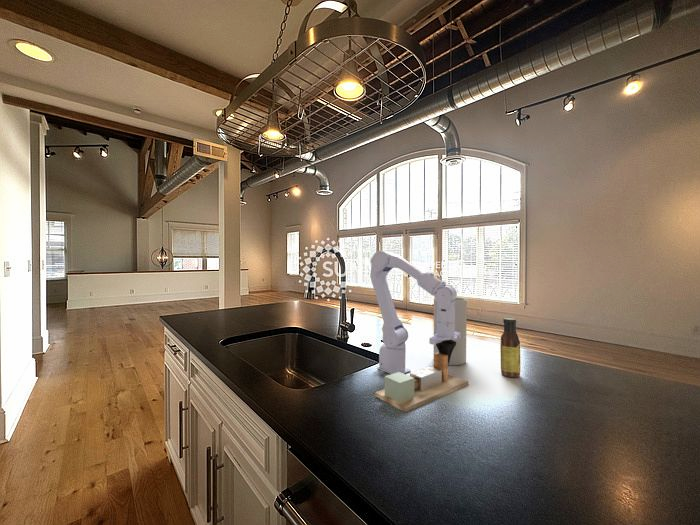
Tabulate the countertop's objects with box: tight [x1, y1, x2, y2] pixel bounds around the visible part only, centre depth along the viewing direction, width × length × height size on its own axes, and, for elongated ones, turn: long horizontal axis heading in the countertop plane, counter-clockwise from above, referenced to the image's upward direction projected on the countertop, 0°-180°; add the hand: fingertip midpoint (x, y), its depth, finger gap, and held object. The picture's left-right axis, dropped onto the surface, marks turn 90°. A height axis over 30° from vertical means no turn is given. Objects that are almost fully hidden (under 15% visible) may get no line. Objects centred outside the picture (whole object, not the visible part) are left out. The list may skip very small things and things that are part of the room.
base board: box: [374, 373, 469, 413], centre depth 95 cm, size 12×30×1 cm, turn 128°
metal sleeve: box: [409, 365, 442, 392], centre depth 96 cm, size 4×10×4 cm, turn 128°
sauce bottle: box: [499, 317, 521, 378], centre depth 109 cm, size 7×6×20 cm
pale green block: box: [384, 372, 414, 402], centre depth 88 cm, size 6×6×5 cm
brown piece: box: [413, 352, 449, 389], centre depth 95 cm, size 4×20×8 cm, turn 128°
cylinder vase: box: [433, 297, 468, 366], centre depth 124 cm, size 12×12×25 cm
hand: (445, 362), depth 102 cm, fingers closed
